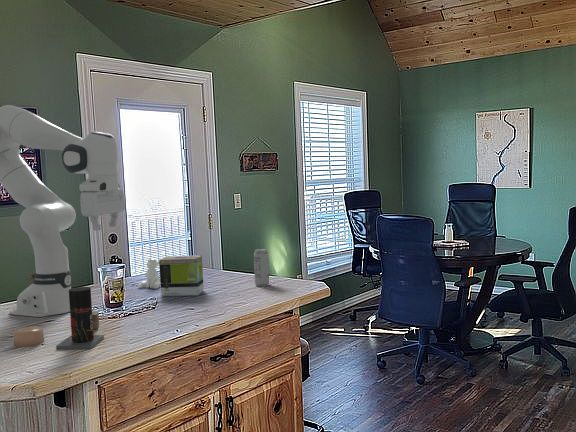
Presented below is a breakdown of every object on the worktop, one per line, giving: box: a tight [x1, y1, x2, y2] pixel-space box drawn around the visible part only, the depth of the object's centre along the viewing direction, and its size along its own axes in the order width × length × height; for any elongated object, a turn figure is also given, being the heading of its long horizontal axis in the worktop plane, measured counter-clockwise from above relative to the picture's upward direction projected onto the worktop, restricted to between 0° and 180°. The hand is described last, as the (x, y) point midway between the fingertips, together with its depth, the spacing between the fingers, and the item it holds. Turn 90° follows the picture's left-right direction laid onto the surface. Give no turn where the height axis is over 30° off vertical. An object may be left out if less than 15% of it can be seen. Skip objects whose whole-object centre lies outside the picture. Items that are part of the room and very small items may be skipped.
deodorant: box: [69, 286, 94, 343], centre depth 167 cm, size 6×6×15 cm
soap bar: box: [12, 325, 45, 348], centre depth 170 cm, size 8×8×4 cm
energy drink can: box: [253, 248, 270, 287], centre depth 242 cm, size 6×6×15 cm
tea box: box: [158, 254, 204, 297], centre depth 230 cm, size 15×10×15 cm, turn 84°
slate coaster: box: [55, 334, 105, 350], centre depth 167 cm, size 10×10×1 cm
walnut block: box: [92, 310, 100, 331], centre depth 183 cm, size 5×5×5 cm
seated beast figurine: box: [137, 258, 161, 290], centre depth 246 cm, size 10×9×12 cm
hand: (105, 228), depth 181 cm, fingers open, 8 cm apart
